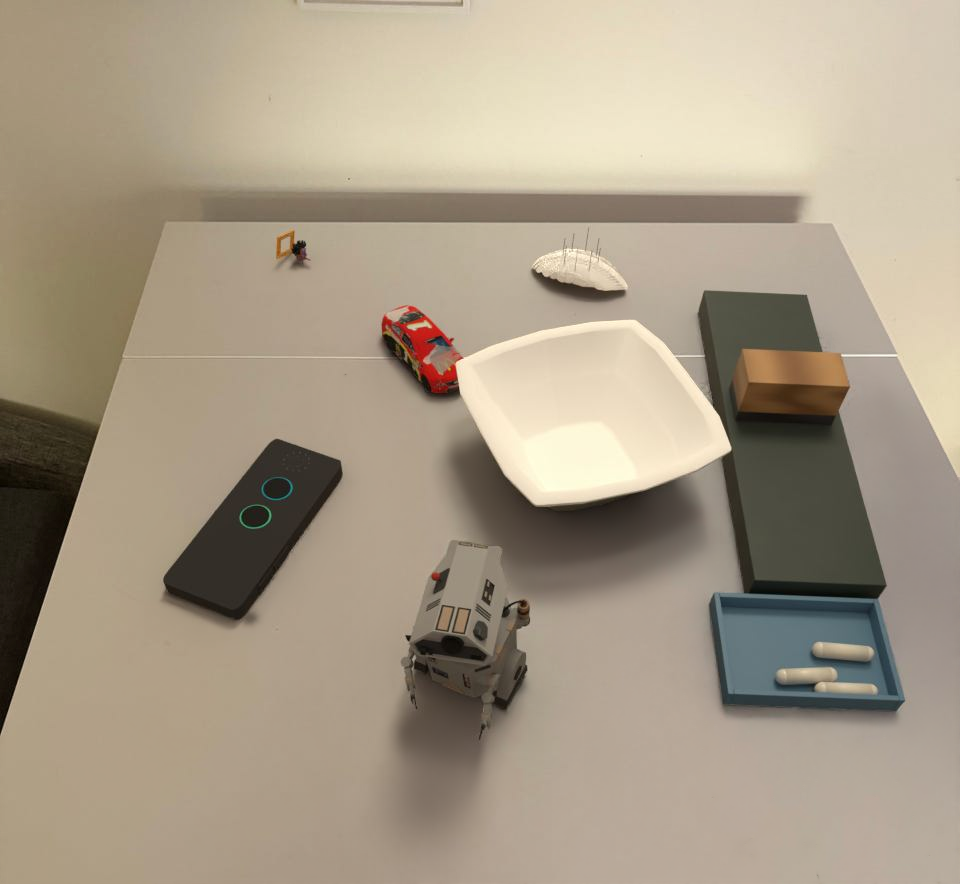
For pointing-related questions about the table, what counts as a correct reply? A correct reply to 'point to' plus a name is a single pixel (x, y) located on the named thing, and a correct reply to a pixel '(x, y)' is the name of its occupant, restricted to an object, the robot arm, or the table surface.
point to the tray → (800, 649)
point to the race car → (422, 348)
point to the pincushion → (580, 269)
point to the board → (786, 465)
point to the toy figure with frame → (292, 247)
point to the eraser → (788, 386)
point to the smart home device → (253, 529)
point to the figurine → (469, 629)
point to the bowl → (589, 413)
